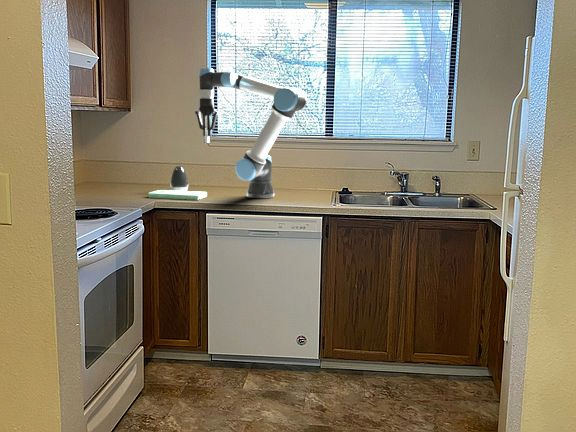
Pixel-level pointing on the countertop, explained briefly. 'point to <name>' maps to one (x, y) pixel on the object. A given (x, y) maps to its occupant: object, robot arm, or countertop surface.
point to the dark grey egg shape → (179, 179)
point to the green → (177, 194)
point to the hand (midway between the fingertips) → (207, 142)
